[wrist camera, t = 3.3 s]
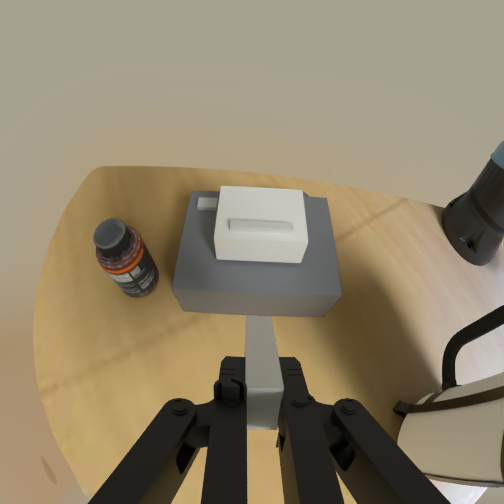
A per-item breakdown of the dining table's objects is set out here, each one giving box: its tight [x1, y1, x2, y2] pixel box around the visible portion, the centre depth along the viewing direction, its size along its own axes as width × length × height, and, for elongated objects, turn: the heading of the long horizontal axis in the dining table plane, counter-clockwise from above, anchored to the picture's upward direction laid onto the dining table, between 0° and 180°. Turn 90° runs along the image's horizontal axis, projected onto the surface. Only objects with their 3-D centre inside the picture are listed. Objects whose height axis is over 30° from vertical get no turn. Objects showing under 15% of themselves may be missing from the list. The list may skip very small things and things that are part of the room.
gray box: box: [172, 191, 342, 317], centre depth 35 cm, size 18×16×8 cm
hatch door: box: [214, 186, 308, 263], centre depth 29 cm, size 9×7×5 cm
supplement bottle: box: [94, 218, 159, 297], centre depth 31 cm, size 6×6×11 cm
